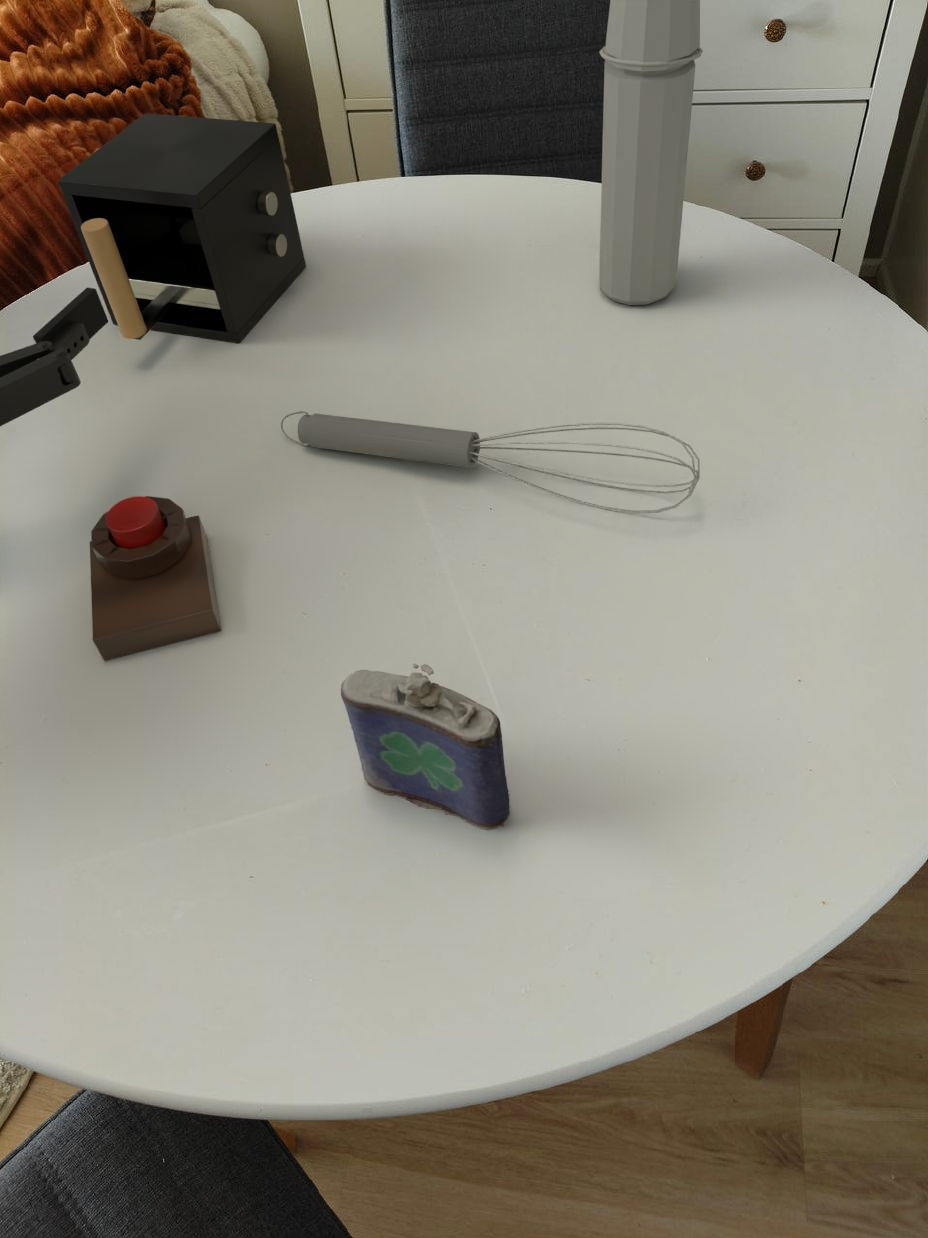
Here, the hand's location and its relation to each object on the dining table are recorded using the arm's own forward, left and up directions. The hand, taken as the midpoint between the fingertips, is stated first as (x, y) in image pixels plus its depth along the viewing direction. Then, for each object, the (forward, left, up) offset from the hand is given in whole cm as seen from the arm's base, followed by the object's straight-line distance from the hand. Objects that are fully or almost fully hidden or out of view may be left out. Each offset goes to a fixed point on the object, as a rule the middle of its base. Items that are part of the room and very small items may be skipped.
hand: (24, 293), depth 75 cm
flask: (+42, -24, -13) cm, 50 cm away
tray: (0, +18, -10) cm, 20 cm away
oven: (0, +22, -13) cm, 25 cm away
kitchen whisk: (+35, +3, -13) cm, 37 cm away
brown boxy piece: (+17, -15, -13) cm, 26 cm away
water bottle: (+40, +33, -13) cm, 53 cm away
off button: (+15, -13, -9) cm, 22 cm away
